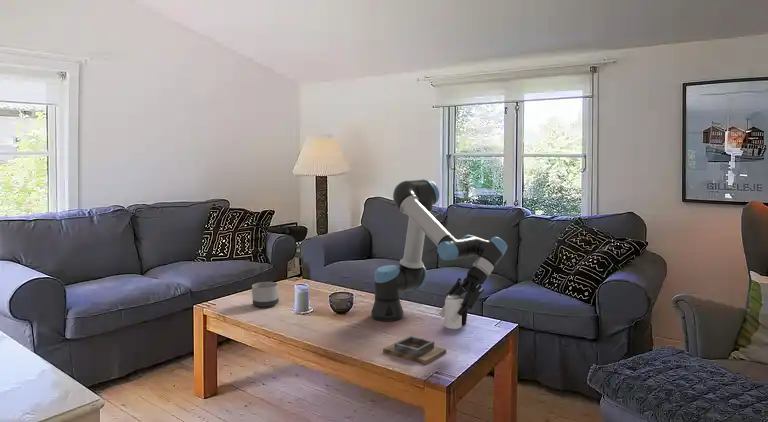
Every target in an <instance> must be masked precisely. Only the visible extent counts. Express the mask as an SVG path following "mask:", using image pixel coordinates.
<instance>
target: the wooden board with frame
mask: <svg viewBox="0 0 768 422" xmlns="http://www.w3.org/2000/svg"><path fill="white" fill-rule="evenodd" d="M382 353H385V354H388V355H391V356H394V357H398V358H401V359H405V360H409V361H412V362H416V363H418V364H419V363H420V364H423V365H428V364H429V363H431V362H433V361H435V360H437V359H439V358H440V357H442V356H444V355H445V354H447V349H446V348H443V347H440V346H435V341H433V340H430V339H427V338H421V337H418V336H414V335H410V336H407V337H405V338H402V339H400V340H398V341H396V342H394V343H392V344H390V345H387V346H386V347H383V348H382Z"/></svg>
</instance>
